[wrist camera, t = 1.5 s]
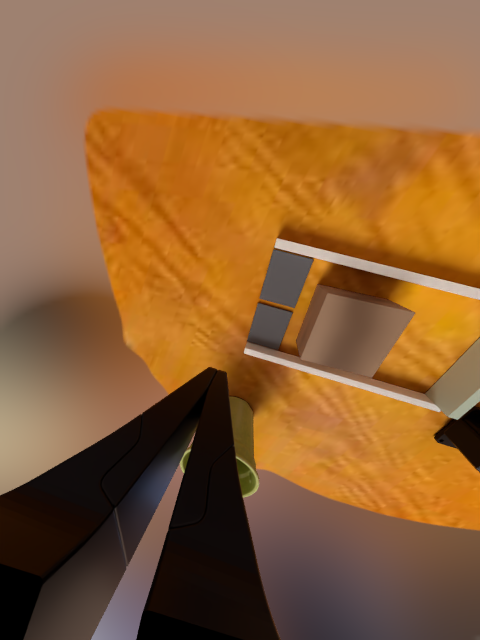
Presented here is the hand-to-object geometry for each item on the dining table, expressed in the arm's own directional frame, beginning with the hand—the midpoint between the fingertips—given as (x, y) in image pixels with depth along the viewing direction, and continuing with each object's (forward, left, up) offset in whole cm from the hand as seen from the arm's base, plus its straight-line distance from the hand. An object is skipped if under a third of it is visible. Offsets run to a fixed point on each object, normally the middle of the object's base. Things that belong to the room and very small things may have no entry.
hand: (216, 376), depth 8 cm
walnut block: (-10, 0, -13) cm, 17 cm away
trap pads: (-3, 0, -13) cm, 13 cm away
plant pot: (-2, +18, -13) cm, 23 cm away
